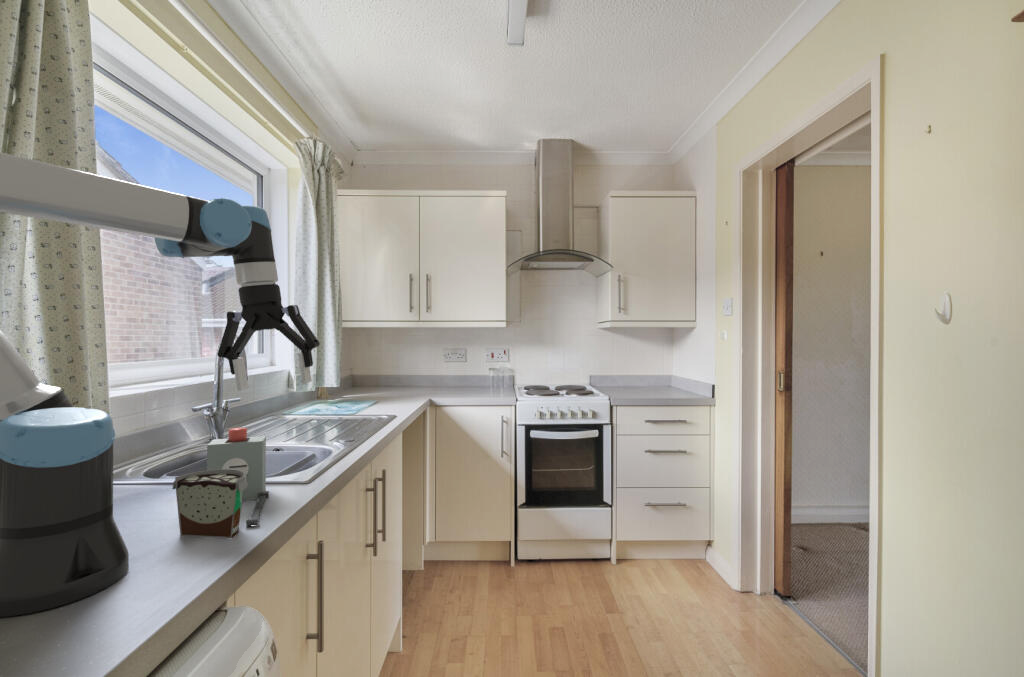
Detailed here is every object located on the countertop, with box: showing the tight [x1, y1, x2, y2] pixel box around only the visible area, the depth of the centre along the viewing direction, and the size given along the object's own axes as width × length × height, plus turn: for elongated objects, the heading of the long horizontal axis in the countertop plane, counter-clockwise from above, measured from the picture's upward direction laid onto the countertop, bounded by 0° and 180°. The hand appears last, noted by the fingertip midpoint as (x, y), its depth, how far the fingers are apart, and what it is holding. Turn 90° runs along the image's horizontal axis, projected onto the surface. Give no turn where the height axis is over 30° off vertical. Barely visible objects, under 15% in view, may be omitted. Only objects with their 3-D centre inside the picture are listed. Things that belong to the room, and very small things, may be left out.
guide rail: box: [245, 490, 270, 527], centre depth 92 cm, size 2×17×1 cm, turn 22°
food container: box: [172, 469, 248, 539], centre depth 82 cm, size 12×6×10 cm, turn 84°
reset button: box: [227, 427, 248, 442], centre depth 100 cm, size 3×3×2 cm
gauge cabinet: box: [206, 435, 267, 501], centre depth 99 cm, size 10×6×12 cm, turn 111°
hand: (275, 386), depth 99 cm, fingers open, 13 cm apart
